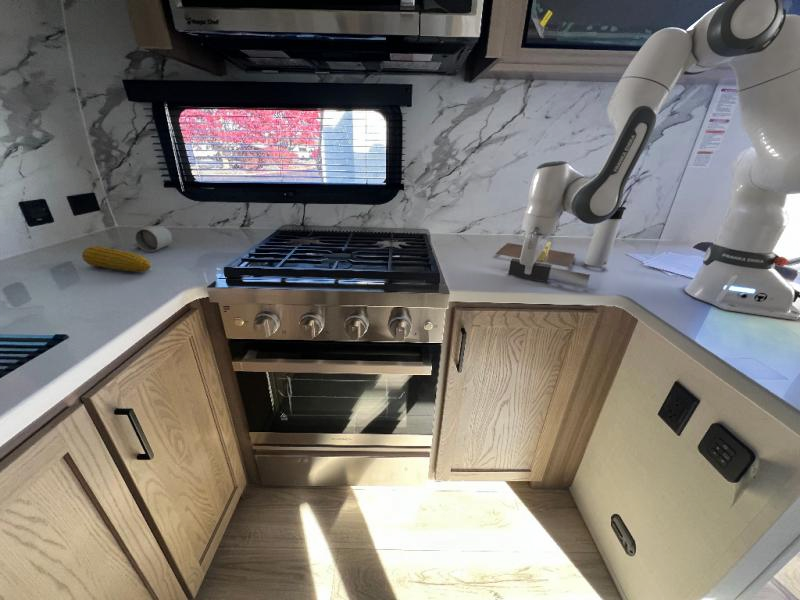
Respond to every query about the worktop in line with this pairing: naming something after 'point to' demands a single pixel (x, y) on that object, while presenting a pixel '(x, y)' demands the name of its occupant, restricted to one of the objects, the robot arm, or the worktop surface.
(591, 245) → the travel mug
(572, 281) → the knife
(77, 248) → the worktop surface
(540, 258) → the butter slice
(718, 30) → the robot arm
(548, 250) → the butter block
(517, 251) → the cutting board
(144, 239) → the ceramic mug
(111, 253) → the food
